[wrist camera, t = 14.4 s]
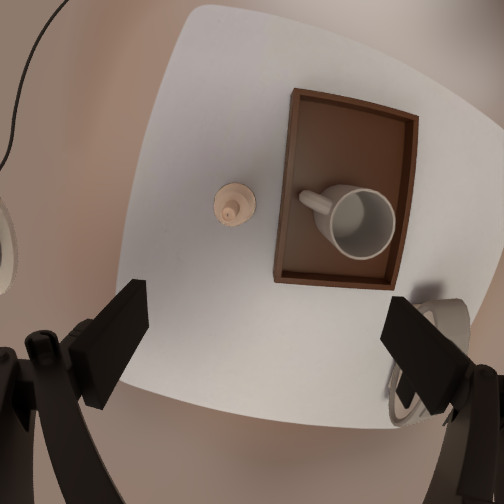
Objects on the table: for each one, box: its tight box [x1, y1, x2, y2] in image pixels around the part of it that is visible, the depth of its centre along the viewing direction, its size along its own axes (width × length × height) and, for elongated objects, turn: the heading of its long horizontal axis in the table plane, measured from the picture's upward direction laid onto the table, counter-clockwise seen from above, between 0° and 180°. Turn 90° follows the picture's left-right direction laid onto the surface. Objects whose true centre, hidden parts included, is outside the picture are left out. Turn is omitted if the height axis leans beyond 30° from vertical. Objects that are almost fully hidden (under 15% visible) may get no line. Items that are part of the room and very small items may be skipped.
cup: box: [299, 184, 396, 260], centre depth 32 cm, size 7×10×9 cm
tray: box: [273, 88, 419, 291], centre depth 35 cm, size 24×17×3 cm
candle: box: [214, 183, 256, 227], centre depth 32 cm, size 5×5×10 cm
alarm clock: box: [388, 298, 470, 427], centre depth 37 cm, size 23×6×13 cm, turn 0°
